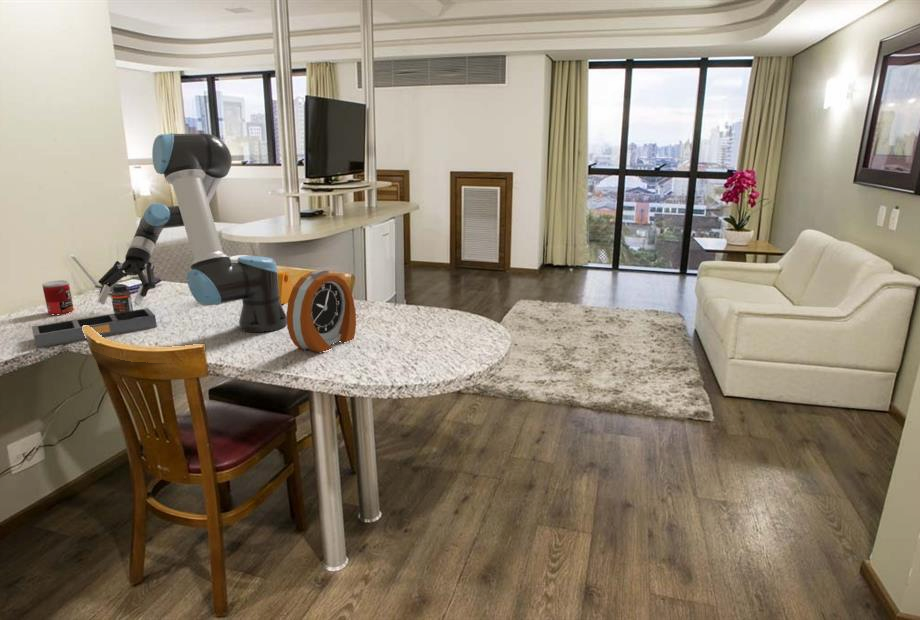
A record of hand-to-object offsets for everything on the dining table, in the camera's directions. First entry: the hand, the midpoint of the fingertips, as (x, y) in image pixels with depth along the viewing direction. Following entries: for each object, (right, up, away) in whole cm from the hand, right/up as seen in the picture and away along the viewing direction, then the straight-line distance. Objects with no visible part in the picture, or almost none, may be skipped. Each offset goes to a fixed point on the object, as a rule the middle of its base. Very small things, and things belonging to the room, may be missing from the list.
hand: (118, 303), depth 206 cm
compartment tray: (+1, -10, -14) cm, 17 cm away
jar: (+32, +4, +32) cm, 45 cm away
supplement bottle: (0, -5, +3) cm, 6 cm away
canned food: (-25, -3, +8) cm, 27 cm away
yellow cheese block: (+49, 0, +20) cm, 53 cm away
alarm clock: (+77, -13, -24) cm, 82 cm away
